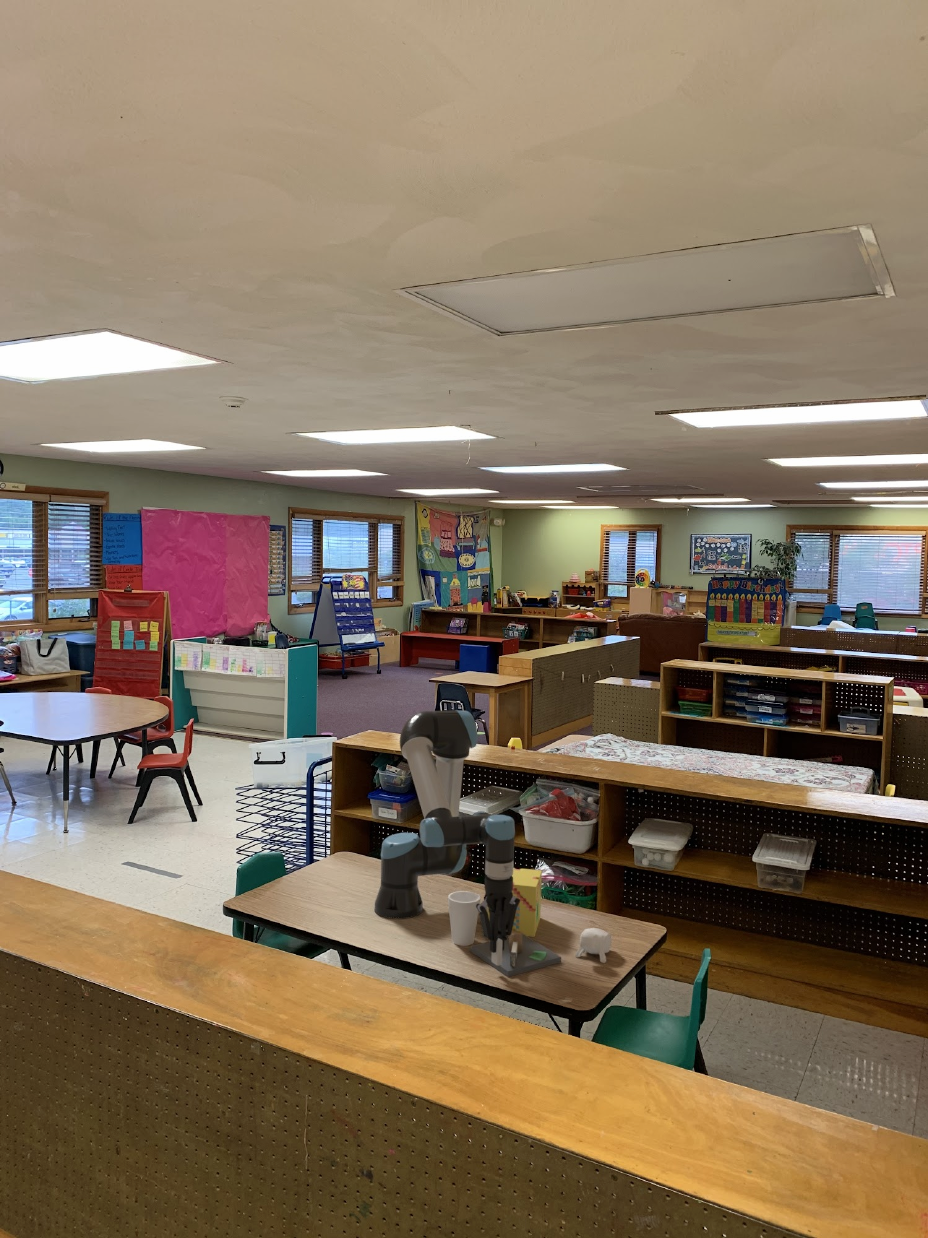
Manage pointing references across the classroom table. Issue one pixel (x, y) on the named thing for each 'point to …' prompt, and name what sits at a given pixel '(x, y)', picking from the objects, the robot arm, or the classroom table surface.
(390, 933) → the classroom table surface
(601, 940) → the white footed figurine
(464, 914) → the foam cup
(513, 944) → the tuning lever
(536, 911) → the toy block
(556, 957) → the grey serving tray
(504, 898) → the robot arm
